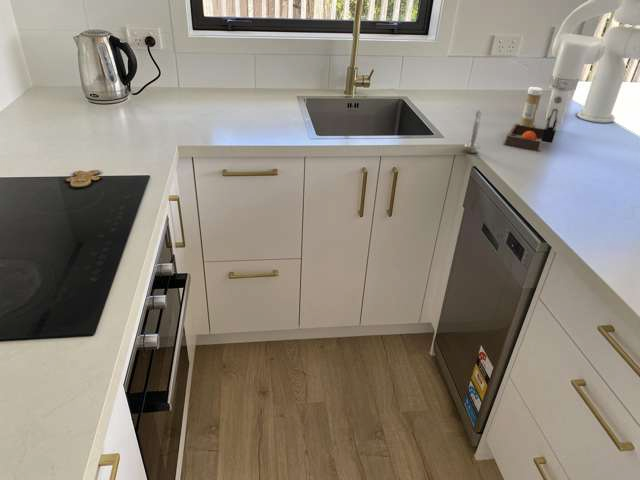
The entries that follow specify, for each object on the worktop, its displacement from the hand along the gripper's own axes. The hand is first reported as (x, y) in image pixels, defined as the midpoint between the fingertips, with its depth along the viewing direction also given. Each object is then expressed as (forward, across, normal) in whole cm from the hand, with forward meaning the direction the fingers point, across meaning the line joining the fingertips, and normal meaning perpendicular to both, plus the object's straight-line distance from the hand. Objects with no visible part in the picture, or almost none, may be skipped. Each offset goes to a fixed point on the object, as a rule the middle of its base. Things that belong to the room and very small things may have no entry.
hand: (547, 141), depth 155 cm
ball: (-1, -3, +5) cm, 6 cm away
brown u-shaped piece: (+1, 0, +7) cm, 7 cm away
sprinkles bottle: (+2, +16, +8) cm, 18 cm away
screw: (+2, -19, +20) cm, 27 cm away
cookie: (+1, -94, +103) cm, 139 cm away
